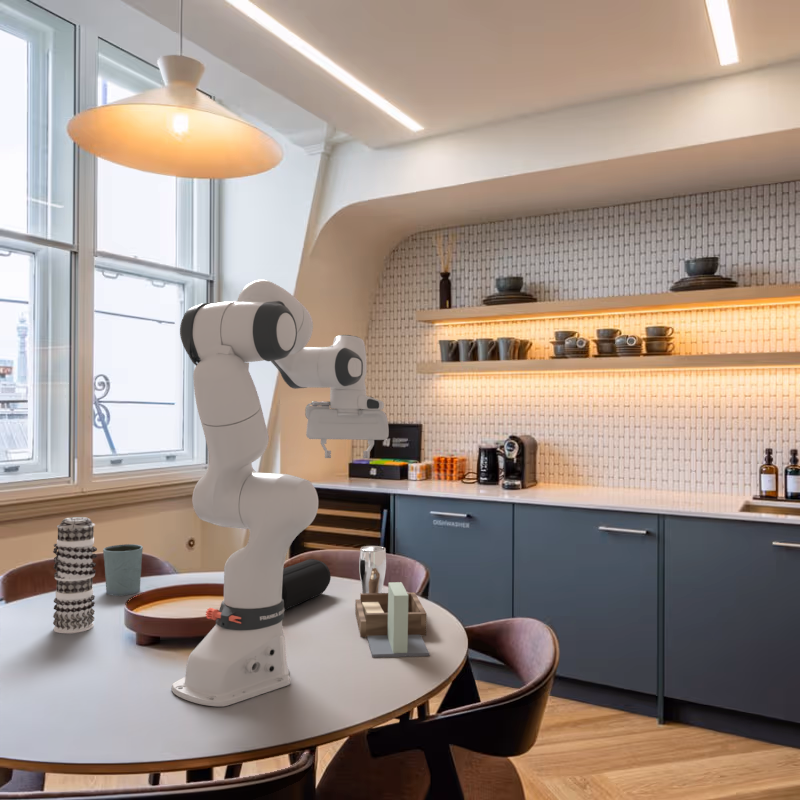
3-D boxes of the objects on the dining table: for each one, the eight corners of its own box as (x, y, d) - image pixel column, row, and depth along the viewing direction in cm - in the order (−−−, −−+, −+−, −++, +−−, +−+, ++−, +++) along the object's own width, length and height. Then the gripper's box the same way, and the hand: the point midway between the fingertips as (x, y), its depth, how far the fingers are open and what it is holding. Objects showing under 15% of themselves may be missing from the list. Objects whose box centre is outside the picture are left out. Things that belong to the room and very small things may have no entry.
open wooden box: (426, 635, 163) (426, 613, 163) (360, 636, 161) (360, 614, 161) (414, 612, 181) (414, 592, 181) (355, 613, 179) (355, 593, 179)
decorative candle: (42, 631, 161) (44, 520, 161) (70, 620, 170) (72, 514, 170) (77, 635, 159) (79, 523, 159) (103, 623, 168) (106, 516, 168)
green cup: (139, 595, 192) (139, 550, 192) (98, 597, 190) (99, 551, 190) (144, 586, 202) (145, 543, 202) (106, 587, 200) (106, 544, 200)
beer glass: (384, 610, 183) (385, 551, 183) (357, 609, 183) (358, 550, 183) (385, 602, 190) (386, 545, 190) (359, 601, 190) (360, 545, 190)
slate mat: (429, 655, 150) (429, 652, 150) (372, 657, 149) (372, 654, 149) (420, 637, 162) (420, 634, 162) (367, 638, 161) (367, 635, 161)
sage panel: (407, 652, 150) (408, 595, 150) (393, 653, 150) (394, 595, 150) (400, 635, 161) (401, 582, 161) (387, 635, 161) (388, 582, 161)
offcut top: (385, 624, 166) (385, 615, 166) (368, 625, 165) (368, 615, 165) (377, 610, 176) (378, 601, 176) (361, 611, 176) (362, 602, 176)
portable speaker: (302, 591, 200) (303, 555, 200) (333, 595, 196) (334, 559, 196) (246, 615, 177) (247, 574, 177) (279, 620, 173) (280, 579, 173)
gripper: (305, 401, 172) (304, 458, 172) (390, 402, 175) (389, 459, 174) (305, 401, 178) (304, 456, 178) (387, 402, 181) (386, 457, 181)
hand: (347, 458), depth 176 cm, fingers open, 8 cm apart
